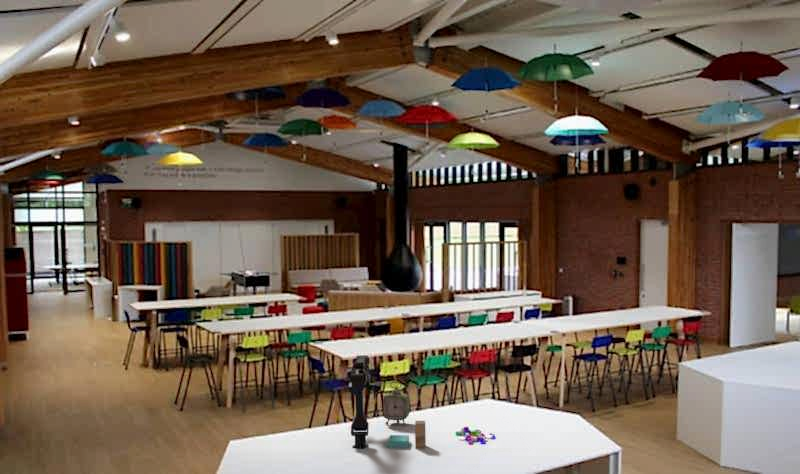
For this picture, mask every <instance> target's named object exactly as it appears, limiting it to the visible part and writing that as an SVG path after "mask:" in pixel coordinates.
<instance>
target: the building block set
mask: <svg viewBox="0 0 800 474" xmlns="http://www.w3.org/2000/svg"><path fill="white" fill-rule="evenodd" d="M454 434H455V436H459V437H458V441H462V440H464V441H465V442H466V441H468V442H467V444H468V445H473V442H475V441H476V442H479V443H481V444H480V445H486V444H487V443H486V442H488V441H489V440H495V439H496V436H495V434H494V433H482V430H479V429H474V430H471V429H469V426H462V427H460V429H458V430H457V431H455V433H454ZM473 434H474V435H473ZM460 435H461V436H460ZM463 436H464V437H463ZM473 436H478V437H473ZM465 439H466V440H465Z"/></svg>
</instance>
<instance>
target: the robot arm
mask: <svg viewBox="0 0 800 474" xmlns="http://www.w3.org/2000/svg"><path fill="white" fill-rule="evenodd" d="M353 365H354V366H353V367H352V369H351V370H350V375H349V376H350V377H349V383H348V386H347V391H348V392H349V393H351V394H353V396H354V398H355V399H354V400H355V415H354V417H353V421H352V423H351V425H350V436H352V437H354V445H352V448H355V449H365V448H366V447H368V446H369V444H368V443H367V437H368V436H369V421H368V415H366V414H365V408H364V407H365V405H364V390H365V389H373V400H374V401H375V399H376V395H377V393H380V392H381V391H382V387H383V384H382V381H374V383H371V374H369V370H370V365H371V359H370V357H369V356H368V355H356V357H354V364H353ZM356 371H357V373H355V372H356Z"/></svg>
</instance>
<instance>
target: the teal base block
mask: <svg viewBox="0 0 800 474" xmlns="http://www.w3.org/2000/svg"><path fill="white" fill-rule="evenodd" d="M409 444H410V435H408V434H406V435H404V434H403V435H402V434H401V435H399V434H398V435H396V434H395V435H393V434H390V435H389V437H388V440H387V448H388V449H408V446H409Z"/></svg>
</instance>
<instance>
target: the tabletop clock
mask: <svg viewBox="0 0 800 474" xmlns="http://www.w3.org/2000/svg"><path fill="white" fill-rule="evenodd" d="M394 383H396V384H400V386H399V387H398V386H395V387H394V386H392V384H394ZM390 387H391V388H392V389H393V390H392V391H391V392H388V393H387V394H386V395H385V396H383V400H382V413H383V417H384V419H386V422H385V425H386V426H387V425H388V424H389V421H396V423H397V424H399V423H400V421H402V422H403V424H402V425H403V426H404V427H405V426H407V423H405V419H407V418H408V417H409V415H410V410H411V402H410V401H411V400H410V397H409V395H408V394H407V393H404V392H401V390H400V389H401V388H402V387H403V385H402V382H400V381H392V382H391V383H390Z"/></svg>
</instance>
